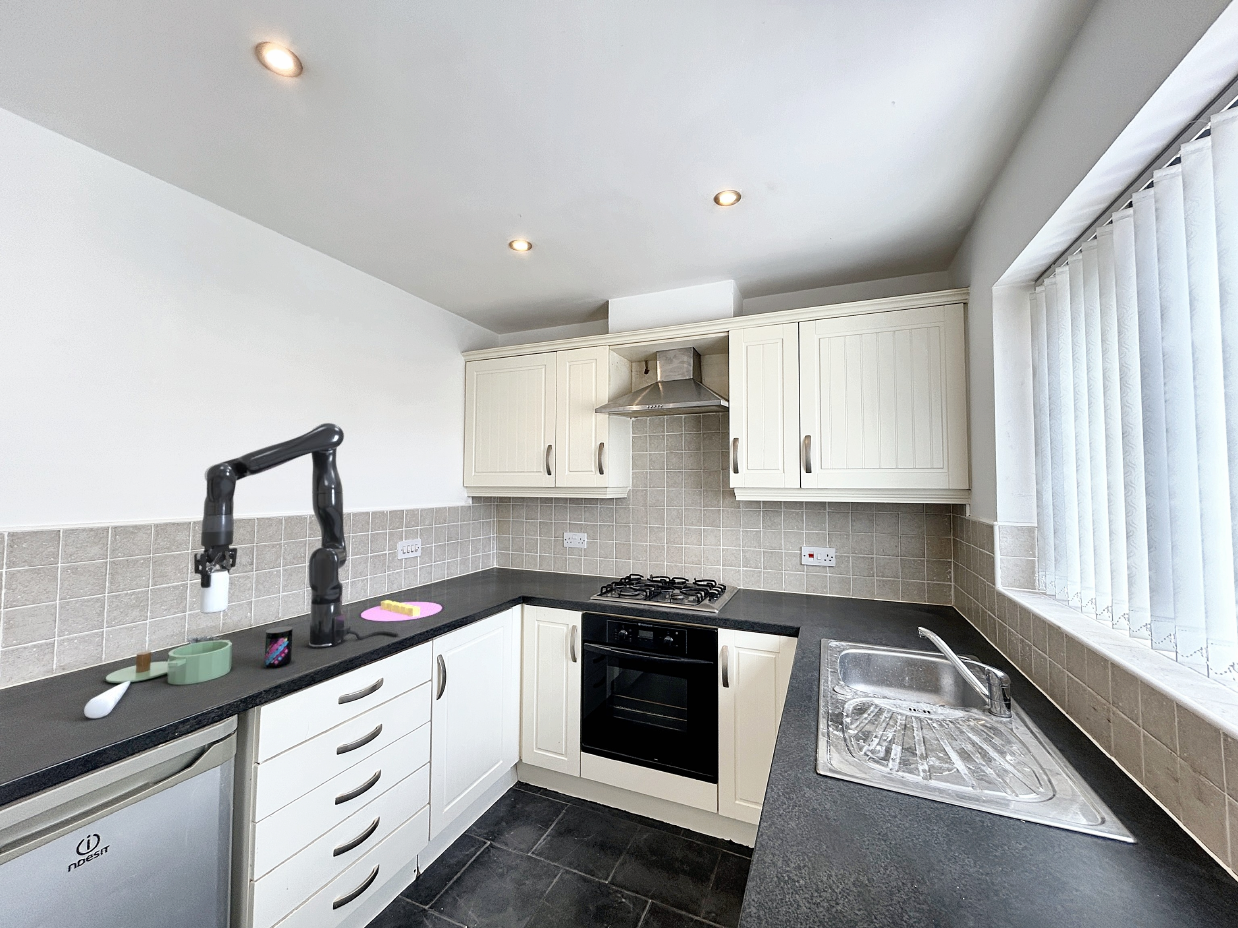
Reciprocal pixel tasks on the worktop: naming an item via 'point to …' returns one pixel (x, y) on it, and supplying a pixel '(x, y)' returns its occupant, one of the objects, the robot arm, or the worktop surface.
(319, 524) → the robot arm
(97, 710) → the unicorn horn
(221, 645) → the pan
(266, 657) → the supplement container
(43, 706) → the worktop surface
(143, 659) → the pan lid
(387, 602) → the platter
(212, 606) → the can
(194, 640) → the egg carton
